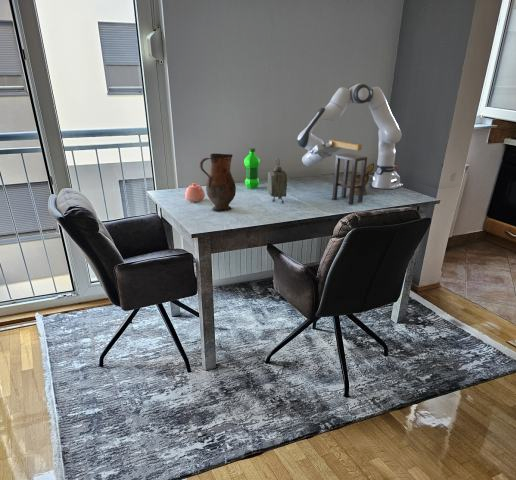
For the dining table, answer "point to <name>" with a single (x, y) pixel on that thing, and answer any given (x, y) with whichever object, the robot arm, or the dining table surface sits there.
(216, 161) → the pitcher
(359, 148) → the bar
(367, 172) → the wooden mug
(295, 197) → the dining table surface
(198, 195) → the sugar bowl
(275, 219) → the dining table surface
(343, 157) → the stand
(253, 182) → the plastic bottle
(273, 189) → the tabletop clock
